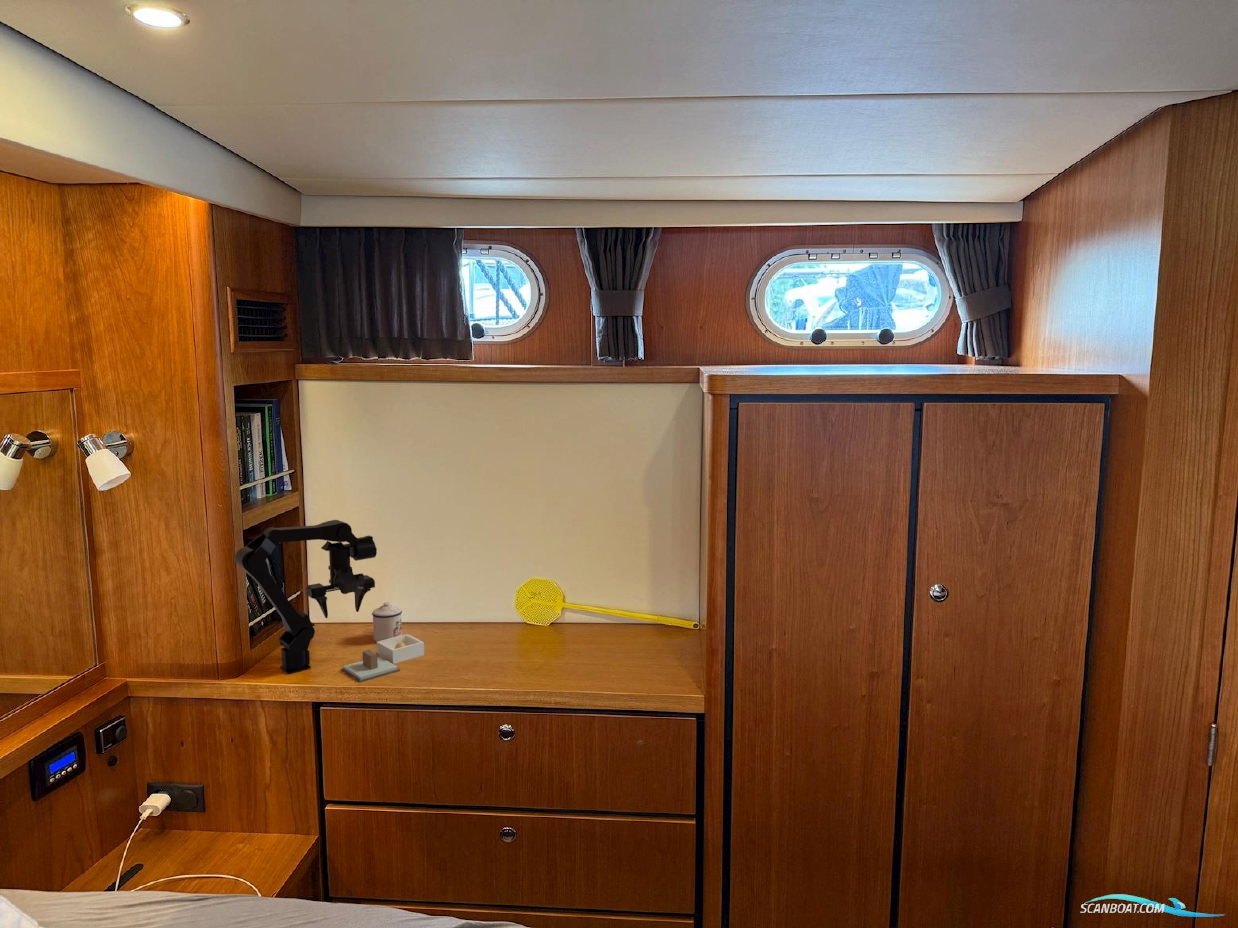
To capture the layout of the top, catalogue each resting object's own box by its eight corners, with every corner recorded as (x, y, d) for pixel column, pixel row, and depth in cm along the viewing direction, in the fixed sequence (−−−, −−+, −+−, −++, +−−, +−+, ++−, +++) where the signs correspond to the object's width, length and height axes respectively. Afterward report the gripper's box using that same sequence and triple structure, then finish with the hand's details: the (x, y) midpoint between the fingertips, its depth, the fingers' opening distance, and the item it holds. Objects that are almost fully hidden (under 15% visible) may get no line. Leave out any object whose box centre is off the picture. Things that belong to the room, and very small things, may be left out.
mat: (359, 682, 214) (359, 680, 214) (341, 669, 223) (340, 668, 223) (400, 670, 222) (400, 669, 222) (380, 659, 231) (380, 657, 231)
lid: (360, 679, 215) (360, 663, 214) (343, 668, 223) (342, 652, 222) (397, 669, 222) (397, 652, 222) (379, 658, 230) (378, 642, 230)
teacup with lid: (399, 643, 244) (398, 606, 243) (369, 643, 244) (368, 607, 242) (407, 630, 256) (406, 595, 255) (379, 630, 256) (378, 595, 254)
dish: (393, 663, 227) (392, 650, 227) (377, 654, 234) (376, 641, 234) (424, 655, 234) (423, 642, 234) (407, 646, 241) (407, 633, 241)
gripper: (317, 574, 218) (319, 628, 220) (381, 563, 230) (383, 615, 232) (303, 566, 226) (306, 618, 228) (366, 556, 238) (368, 606, 240)
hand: (341, 614), depth 232 cm, fingers open, 9 cm apart
